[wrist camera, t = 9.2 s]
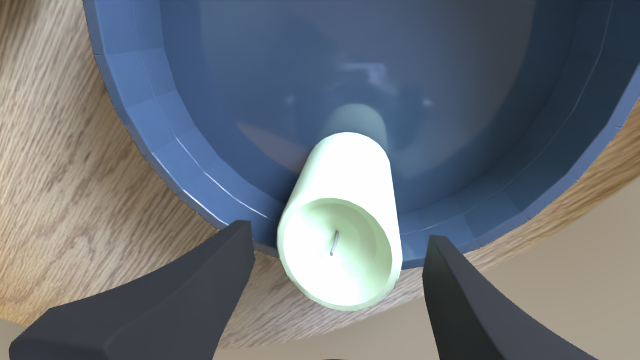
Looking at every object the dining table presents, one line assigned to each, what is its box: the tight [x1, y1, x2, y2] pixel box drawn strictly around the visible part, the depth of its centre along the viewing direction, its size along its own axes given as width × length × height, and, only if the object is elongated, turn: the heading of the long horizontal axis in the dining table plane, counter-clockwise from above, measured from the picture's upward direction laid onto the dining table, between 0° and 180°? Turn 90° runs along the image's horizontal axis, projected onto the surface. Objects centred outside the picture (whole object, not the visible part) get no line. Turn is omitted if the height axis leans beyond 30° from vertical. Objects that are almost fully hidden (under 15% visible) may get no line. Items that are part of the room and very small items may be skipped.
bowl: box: [82, 0, 640, 270], centre depth 14 cm, size 21×21×5 cm
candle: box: [277, 132, 402, 311], centre depth 15 cm, size 5×5×8 cm
